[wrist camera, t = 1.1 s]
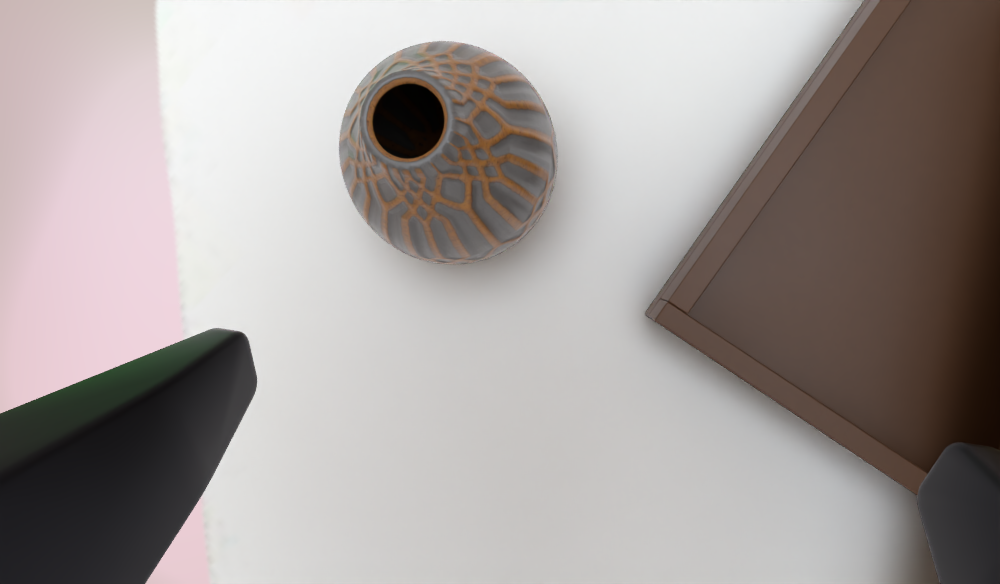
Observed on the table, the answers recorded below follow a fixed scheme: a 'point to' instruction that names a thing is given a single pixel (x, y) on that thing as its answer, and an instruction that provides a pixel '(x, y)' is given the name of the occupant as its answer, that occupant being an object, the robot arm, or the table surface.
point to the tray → (868, 243)
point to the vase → (448, 152)
